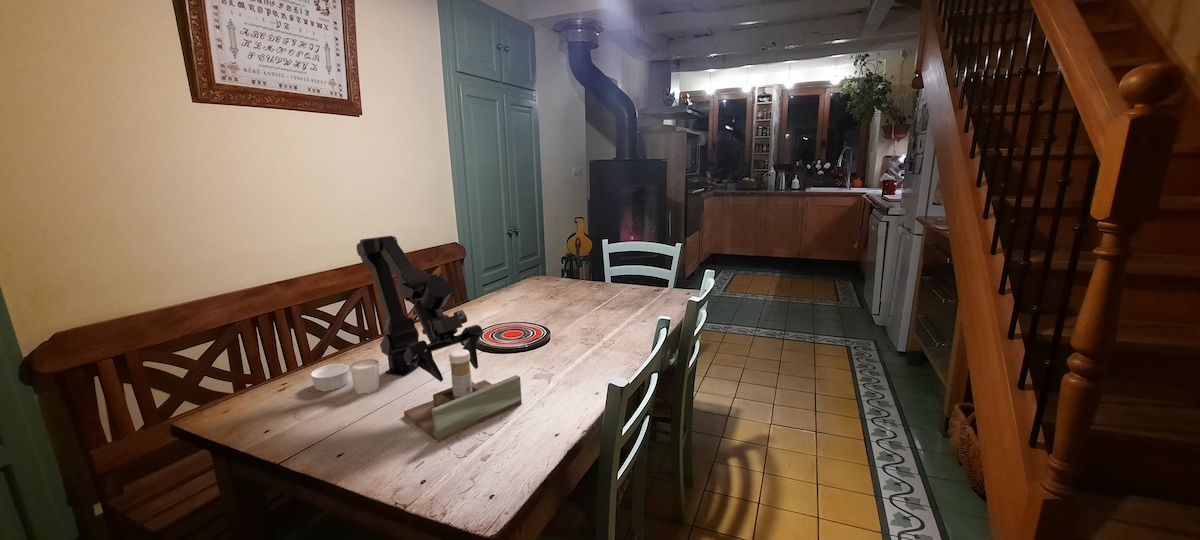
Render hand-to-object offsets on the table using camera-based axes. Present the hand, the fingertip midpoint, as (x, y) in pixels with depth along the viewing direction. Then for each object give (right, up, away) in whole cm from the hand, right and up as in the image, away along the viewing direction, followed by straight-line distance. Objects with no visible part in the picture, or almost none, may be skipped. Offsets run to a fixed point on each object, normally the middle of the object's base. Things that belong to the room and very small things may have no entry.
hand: (459, 374), depth 115 cm
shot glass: (-28, -7, +13) cm, 32 cm away
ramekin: (-39, -7, +16) cm, 43 cm away
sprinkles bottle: (0, -8, +2) cm, 8 cm away
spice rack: (+1, -9, +2) cm, 9 cm away
